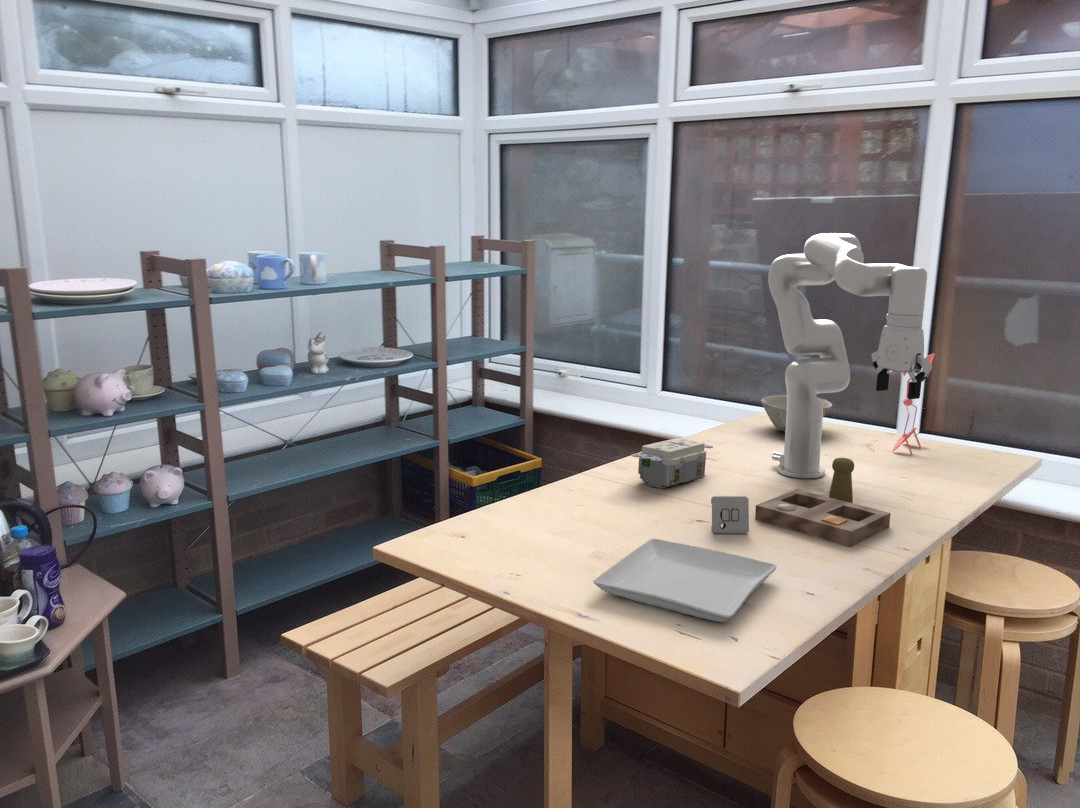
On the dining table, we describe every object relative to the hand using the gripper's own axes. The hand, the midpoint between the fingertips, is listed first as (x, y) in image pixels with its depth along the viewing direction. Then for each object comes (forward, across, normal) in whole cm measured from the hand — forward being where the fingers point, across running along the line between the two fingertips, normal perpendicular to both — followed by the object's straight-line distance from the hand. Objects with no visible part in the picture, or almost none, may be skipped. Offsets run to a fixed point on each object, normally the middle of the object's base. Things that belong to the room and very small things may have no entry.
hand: (897, 394), depth 211 cm
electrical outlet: (+30, -43, -33) cm, 62 cm away
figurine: (+30, -45, +47) cm, 71 cm away
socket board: (+29, 0, -20) cm, 35 cm away
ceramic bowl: (+30, -72, +32) cm, 85 cm away
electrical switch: (+29, -5, -42) cm, 52 cm away
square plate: (+29, +18, -68) cm, 77 cm away
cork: (+29, -11, -4) cm, 31 cm away
